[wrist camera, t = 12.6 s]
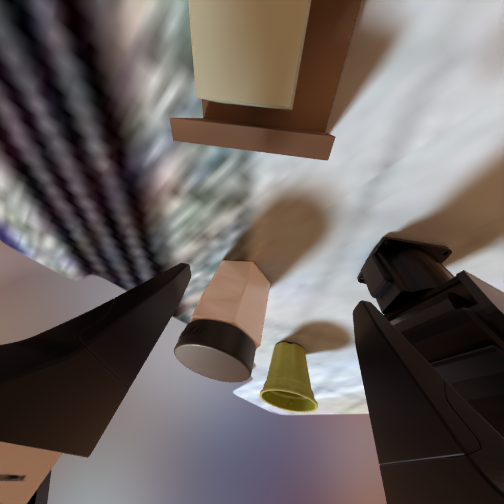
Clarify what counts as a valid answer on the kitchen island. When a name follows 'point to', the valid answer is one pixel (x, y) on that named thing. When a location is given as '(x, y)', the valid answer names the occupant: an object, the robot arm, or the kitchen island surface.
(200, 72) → the beige rectangular block
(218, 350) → the jar
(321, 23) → the shelf frame
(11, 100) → the kitchen island surface
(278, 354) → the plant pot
